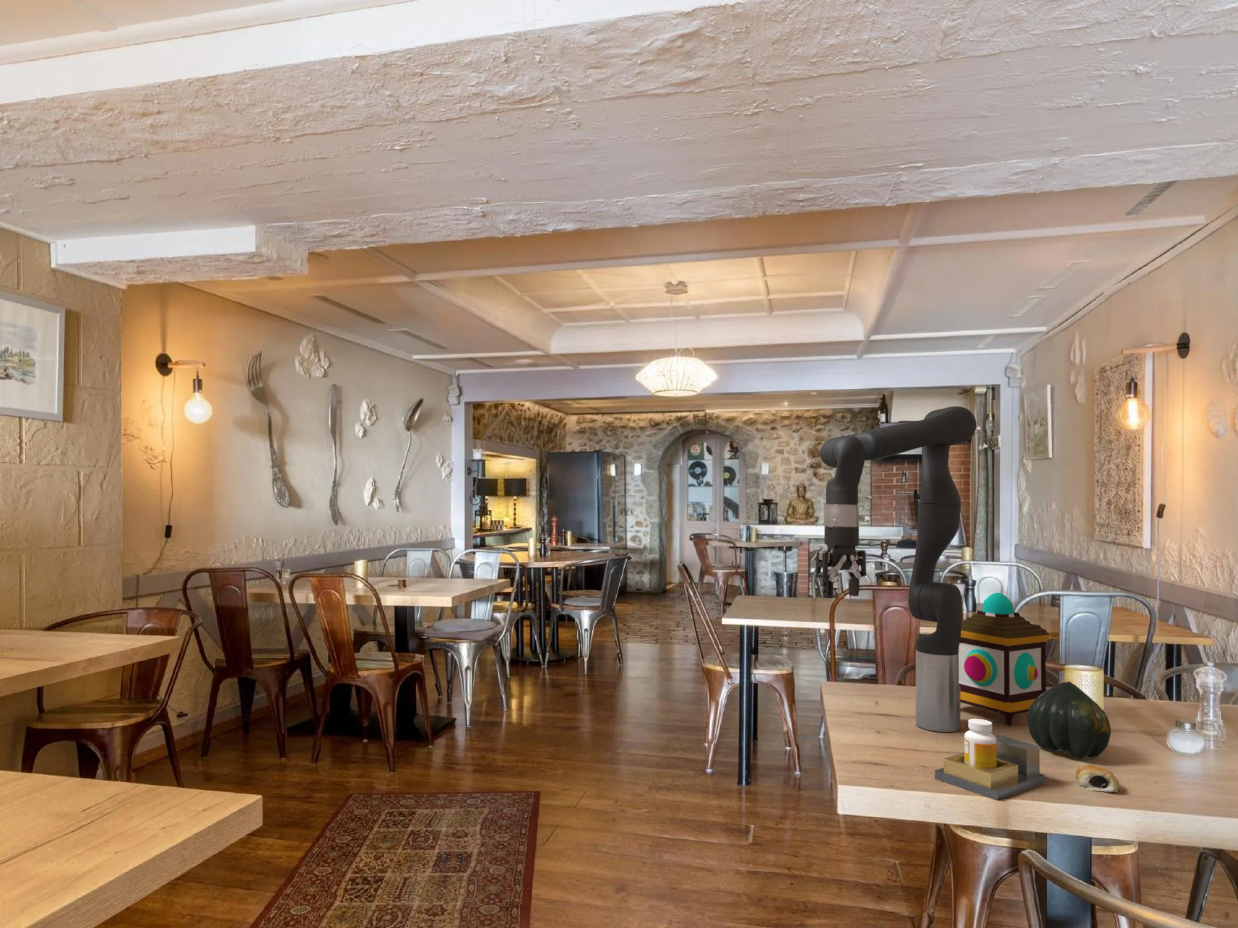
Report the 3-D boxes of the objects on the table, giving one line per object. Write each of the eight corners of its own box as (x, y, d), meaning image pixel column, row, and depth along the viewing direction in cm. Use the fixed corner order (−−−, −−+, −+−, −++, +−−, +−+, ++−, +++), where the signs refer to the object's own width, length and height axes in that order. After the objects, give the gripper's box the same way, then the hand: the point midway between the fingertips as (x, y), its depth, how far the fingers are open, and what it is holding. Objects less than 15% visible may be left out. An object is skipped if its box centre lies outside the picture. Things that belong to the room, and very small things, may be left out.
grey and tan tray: (983, 763, 149) (983, 730, 149) (1045, 783, 139) (1045, 747, 139) (934, 778, 140) (934, 742, 141) (997, 800, 130) (997, 761, 131)
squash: (1059, 739, 148) (1096, 679, 152) (1001, 721, 162) (1037, 666, 166) (1104, 785, 150) (1140, 724, 154) (1043, 763, 164) (1077, 708, 168)
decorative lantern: (1011, 730, 173) (1010, 598, 175) (937, 708, 190) (937, 589, 192) (1062, 719, 183) (1061, 595, 184) (987, 700, 200) (986, 587, 202)
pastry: (1071, 774, 145) (1071, 753, 145) (1113, 780, 142) (1113, 759, 142) (1078, 790, 137) (1078, 768, 137) (1122, 797, 134) (1122, 775, 134)
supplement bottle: (1003, 777, 137) (1002, 723, 138) (985, 782, 135) (985, 727, 135) (975, 768, 142) (975, 715, 142) (958, 772, 139) (958, 719, 140)
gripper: (849, 524, 177) (848, 593, 176) (807, 523, 169) (806, 596, 168) (875, 525, 171) (875, 597, 170) (833, 525, 163) (833, 600, 162)
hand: (841, 596), depth 169 cm, fingers open, 8 cm apart
